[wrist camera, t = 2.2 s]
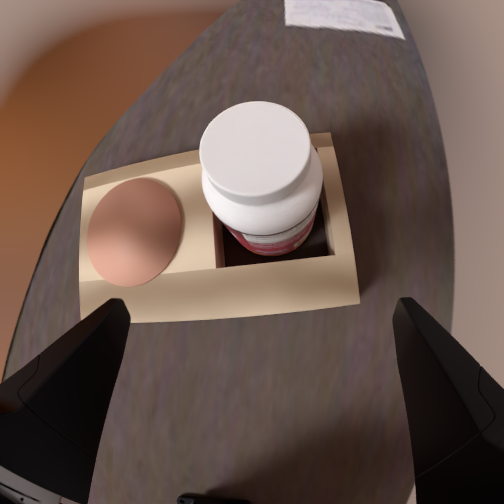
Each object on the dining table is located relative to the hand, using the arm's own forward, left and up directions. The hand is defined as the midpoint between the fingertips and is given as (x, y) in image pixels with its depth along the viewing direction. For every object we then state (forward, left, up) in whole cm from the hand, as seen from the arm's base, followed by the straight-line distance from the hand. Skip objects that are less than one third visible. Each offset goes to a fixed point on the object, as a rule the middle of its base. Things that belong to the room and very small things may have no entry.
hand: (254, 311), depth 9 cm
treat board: (+6, +5, -12) cm, 14 cm away
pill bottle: (+7, 0, -13) cm, 14 cm away
